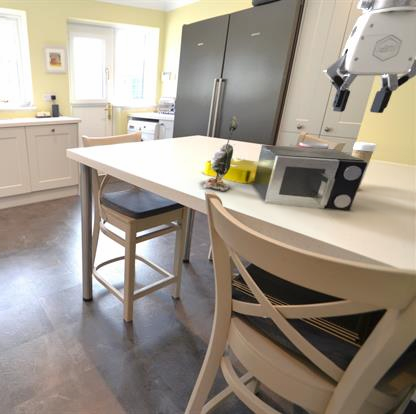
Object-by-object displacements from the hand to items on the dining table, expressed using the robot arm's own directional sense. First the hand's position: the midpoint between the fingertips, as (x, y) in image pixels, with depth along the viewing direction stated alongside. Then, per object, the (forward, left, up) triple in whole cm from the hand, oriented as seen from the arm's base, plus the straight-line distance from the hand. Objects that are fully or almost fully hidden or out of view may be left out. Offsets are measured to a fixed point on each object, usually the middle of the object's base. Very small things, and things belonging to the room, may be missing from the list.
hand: (357, 111), depth 57 cm
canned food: (-7, -34, -23) cm, 42 cm away
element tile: (+16, -28, -23) cm, 39 cm away
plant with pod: (+23, -13, -23) cm, 35 cm away
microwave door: (+5, 0, -22) cm, 23 cm away
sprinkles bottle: (-15, -23, -23) cm, 36 cm away
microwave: (+2, -10, -23) cm, 25 cm away
